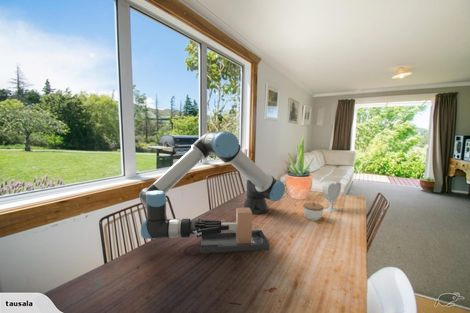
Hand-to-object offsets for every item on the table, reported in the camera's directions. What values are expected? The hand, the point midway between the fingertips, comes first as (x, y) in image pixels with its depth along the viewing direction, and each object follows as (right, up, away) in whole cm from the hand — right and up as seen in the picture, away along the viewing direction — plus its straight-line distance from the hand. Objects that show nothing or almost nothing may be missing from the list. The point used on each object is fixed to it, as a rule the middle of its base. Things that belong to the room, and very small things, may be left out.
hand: (236, 226), depth 93 cm
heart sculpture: (+61, -4, +45) cm, 76 cm away
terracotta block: (+3, -7, +1) cm, 8 cm away
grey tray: (-1, -8, +1) cm, 8 cm away
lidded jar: (+44, -6, +30) cm, 53 cm away
